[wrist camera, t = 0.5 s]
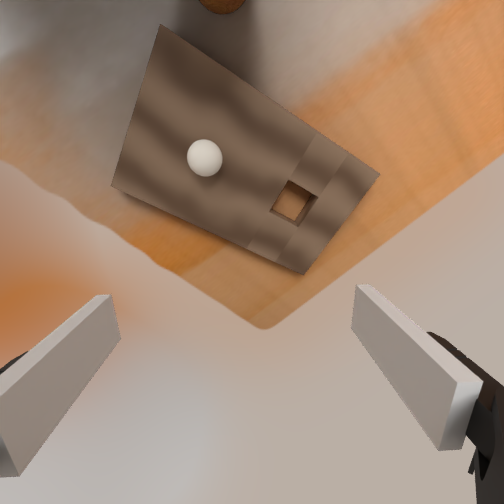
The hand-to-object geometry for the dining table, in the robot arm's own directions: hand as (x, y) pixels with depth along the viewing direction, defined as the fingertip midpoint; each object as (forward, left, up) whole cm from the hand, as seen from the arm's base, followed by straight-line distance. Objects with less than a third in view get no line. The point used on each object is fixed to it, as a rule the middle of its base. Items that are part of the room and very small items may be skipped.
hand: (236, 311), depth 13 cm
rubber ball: (-3, -5, -20) cm, 21 cm away
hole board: (-3, +1, -25) cm, 25 cm away
